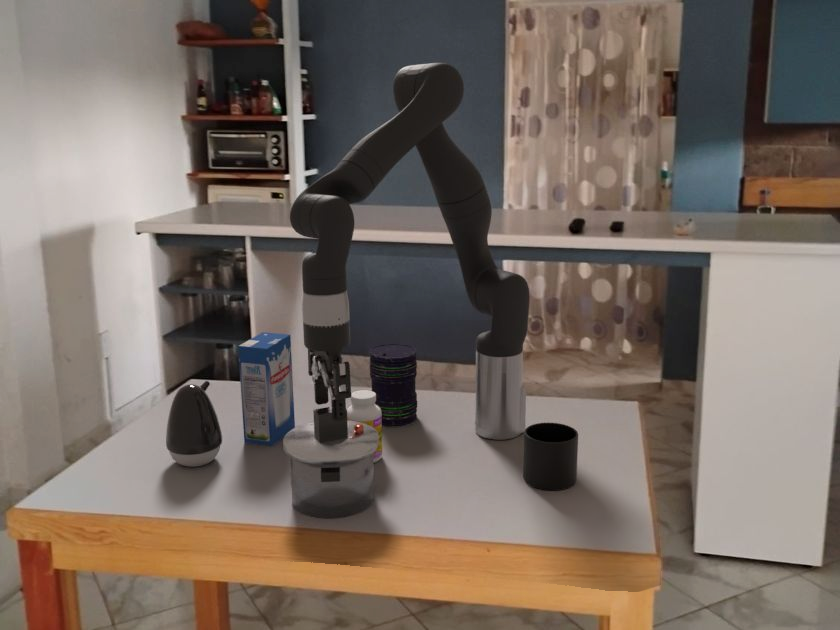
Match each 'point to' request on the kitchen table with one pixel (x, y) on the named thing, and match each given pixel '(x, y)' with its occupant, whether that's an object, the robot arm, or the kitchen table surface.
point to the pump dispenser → (193, 427)
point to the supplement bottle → (367, 415)
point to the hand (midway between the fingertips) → (330, 411)
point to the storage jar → (394, 383)
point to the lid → (330, 440)
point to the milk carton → (266, 388)
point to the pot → (332, 487)
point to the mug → (550, 456)
